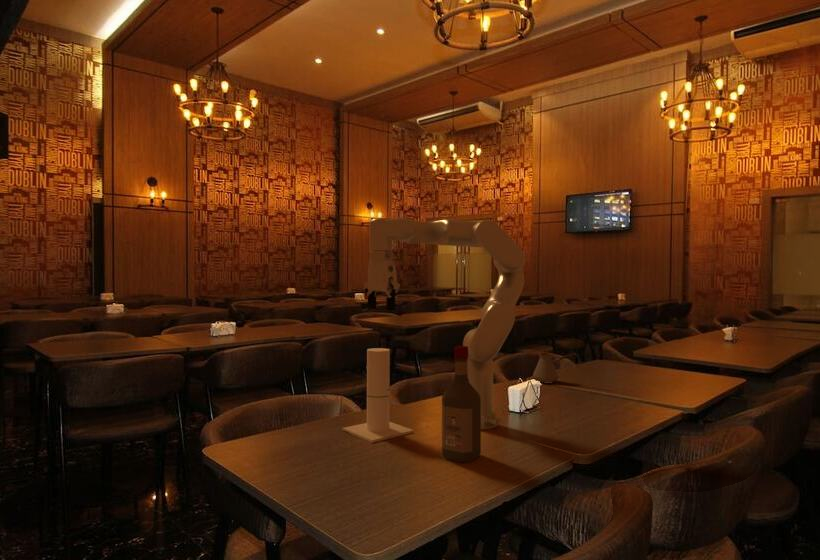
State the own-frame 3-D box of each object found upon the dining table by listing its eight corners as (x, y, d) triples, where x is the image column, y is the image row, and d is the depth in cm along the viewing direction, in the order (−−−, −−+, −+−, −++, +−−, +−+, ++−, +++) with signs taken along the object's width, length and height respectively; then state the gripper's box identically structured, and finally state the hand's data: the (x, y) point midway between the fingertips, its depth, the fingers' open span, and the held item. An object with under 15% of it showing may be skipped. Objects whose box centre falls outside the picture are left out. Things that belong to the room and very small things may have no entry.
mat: (413, 432, 168) (413, 430, 168) (371, 442, 158) (371, 440, 158) (382, 421, 180) (382, 419, 180) (342, 430, 170) (342, 428, 170)
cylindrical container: (392, 426, 172) (393, 348, 171) (384, 433, 165) (384, 351, 164) (372, 424, 174) (372, 347, 174) (363, 430, 167) (363, 350, 167)
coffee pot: (527, 382, 246) (528, 349, 245) (541, 378, 254) (541, 346, 254) (570, 389, 231) (571, 354, 231) (583, 385, 239) (583, 351, 239)
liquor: (469, 464, 140) (469, 350, 140) (438, 458, 145) (438, 347, 144) (483, 454, 148) (483, 346, 147) (454, 449, 153) (454, 343, 152)
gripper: (407, 256, 171) (407, 309, 171) (373, 257, 184) (373, 307, 184) (389, 255, 166) (389, 311, 166) (355, 257, 179) (356, 308, 179)
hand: (381, 309), depth 175 cm, fingers open, 9 cm apart
